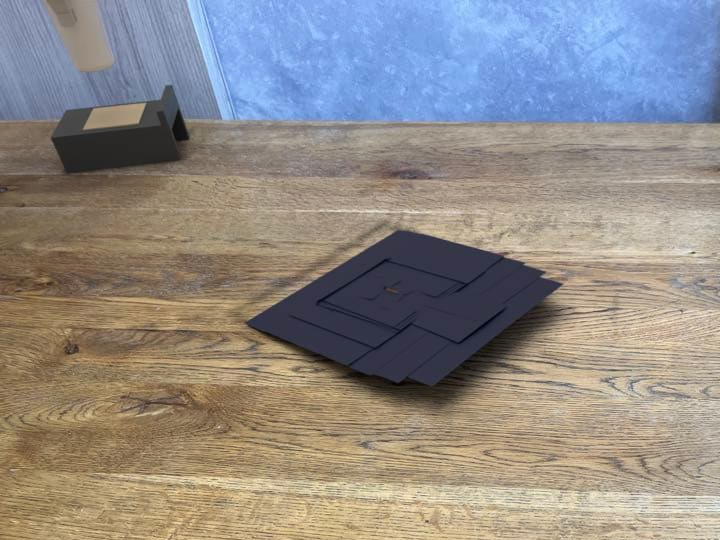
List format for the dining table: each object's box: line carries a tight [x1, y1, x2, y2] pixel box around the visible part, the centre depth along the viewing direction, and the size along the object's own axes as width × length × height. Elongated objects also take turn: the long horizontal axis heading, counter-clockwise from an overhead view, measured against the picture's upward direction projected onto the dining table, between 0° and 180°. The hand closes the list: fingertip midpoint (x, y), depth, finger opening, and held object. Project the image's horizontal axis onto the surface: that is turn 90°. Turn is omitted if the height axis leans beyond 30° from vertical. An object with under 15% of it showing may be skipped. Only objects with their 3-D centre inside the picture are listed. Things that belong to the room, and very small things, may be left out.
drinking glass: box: [41, 0, 116, 73], centre depth 109 cm, size 7×7×15 cm
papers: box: [244, 229, 564, 387], centre depth 90 cm, size 24×30×4 cm
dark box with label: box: [50, 84, 191, 174], centre depth 121 cm, size 16×10×8 cm, turn 102°
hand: (76, 16), depth 110 cm, fingers closed on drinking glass, 6 cm apart
